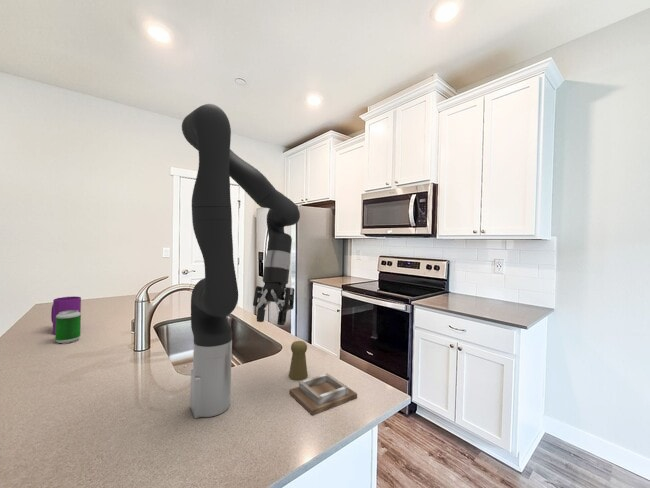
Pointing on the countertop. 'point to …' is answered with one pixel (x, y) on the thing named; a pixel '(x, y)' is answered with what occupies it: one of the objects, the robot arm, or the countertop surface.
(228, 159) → the robot arm
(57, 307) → the mug
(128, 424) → the countertop surface
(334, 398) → the spice dock
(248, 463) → the countertop surface
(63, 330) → the soda can
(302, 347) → the olive pawn figure
